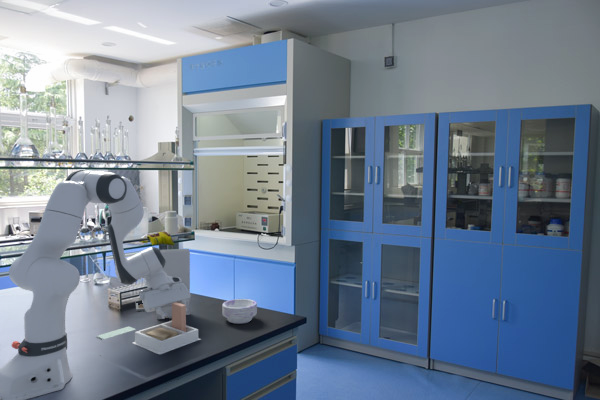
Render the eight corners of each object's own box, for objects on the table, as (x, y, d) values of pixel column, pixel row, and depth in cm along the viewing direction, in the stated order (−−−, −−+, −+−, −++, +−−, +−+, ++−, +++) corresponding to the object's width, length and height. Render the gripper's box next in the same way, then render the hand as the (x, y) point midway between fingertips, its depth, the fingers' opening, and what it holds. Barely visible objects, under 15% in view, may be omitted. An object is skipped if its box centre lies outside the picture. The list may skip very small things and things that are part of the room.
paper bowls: (226, 314, 210) (226, 297, 210) (259, 315, 209) (259, 298, 208) (218, 325, 195) (218, 307, 194) (253, 327, 194) (253, 308, 193)
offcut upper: (163, 343, 167) (163, 337, 167) (145, 338, 171) (145, 333, 171) (177, 337, 173) (177, 331, 173) (159, 332, 178) (159, 327, 177)
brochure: (188, 312, 211) (188, 248, 209) (189, 316, 206) (189, 250, 204) (156, 315, 207) (156, 250, 205) (156, 319, 202) (156, 252, 199)
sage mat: (116, 345, 171) (116, 344, 171) (96, 337, 180) (96, 335, 180) (148, 335, 182) (148, 334, 182) (128, 327, 191) (128, 326, 191)
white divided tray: (159, 357, 162) (159, 343, 162) (132, 345, 172) (131, 332, 172) (201, 341, 177) (201, 328, 177) (173, 331, 187) (173, 319, 187)
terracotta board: (181, 339, 176) (181, 306, 175) (171, 335, 180) (171, 303, 179) (185, 337, 178) (185, 305, 177) (176, 334, 181) (176, 302, 181)
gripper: (140, 286, 175) (156, 316, 170) (183, 276, 191) (199, 304, 186) (134, 295, 178) (149, 326, 173) (176, 285, 194) (192, 312, 189)
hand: (175, 314), depth 180 cm, fingers open, 8 cm apart
